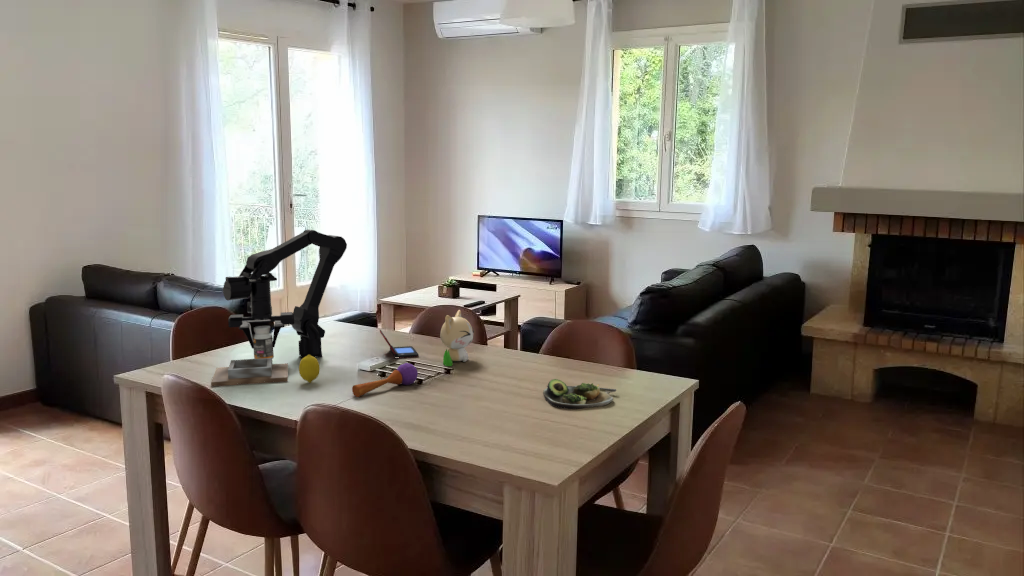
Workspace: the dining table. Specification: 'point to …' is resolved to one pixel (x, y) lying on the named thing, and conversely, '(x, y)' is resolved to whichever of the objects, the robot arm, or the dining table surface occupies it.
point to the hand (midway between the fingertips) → (263, 347)
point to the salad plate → (576, 395)
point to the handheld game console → (402, 350)
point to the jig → (250, 372)
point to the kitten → (456, 338)
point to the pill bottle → (263, 342)
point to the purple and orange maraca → (389, 379)
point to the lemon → (309, 368)
